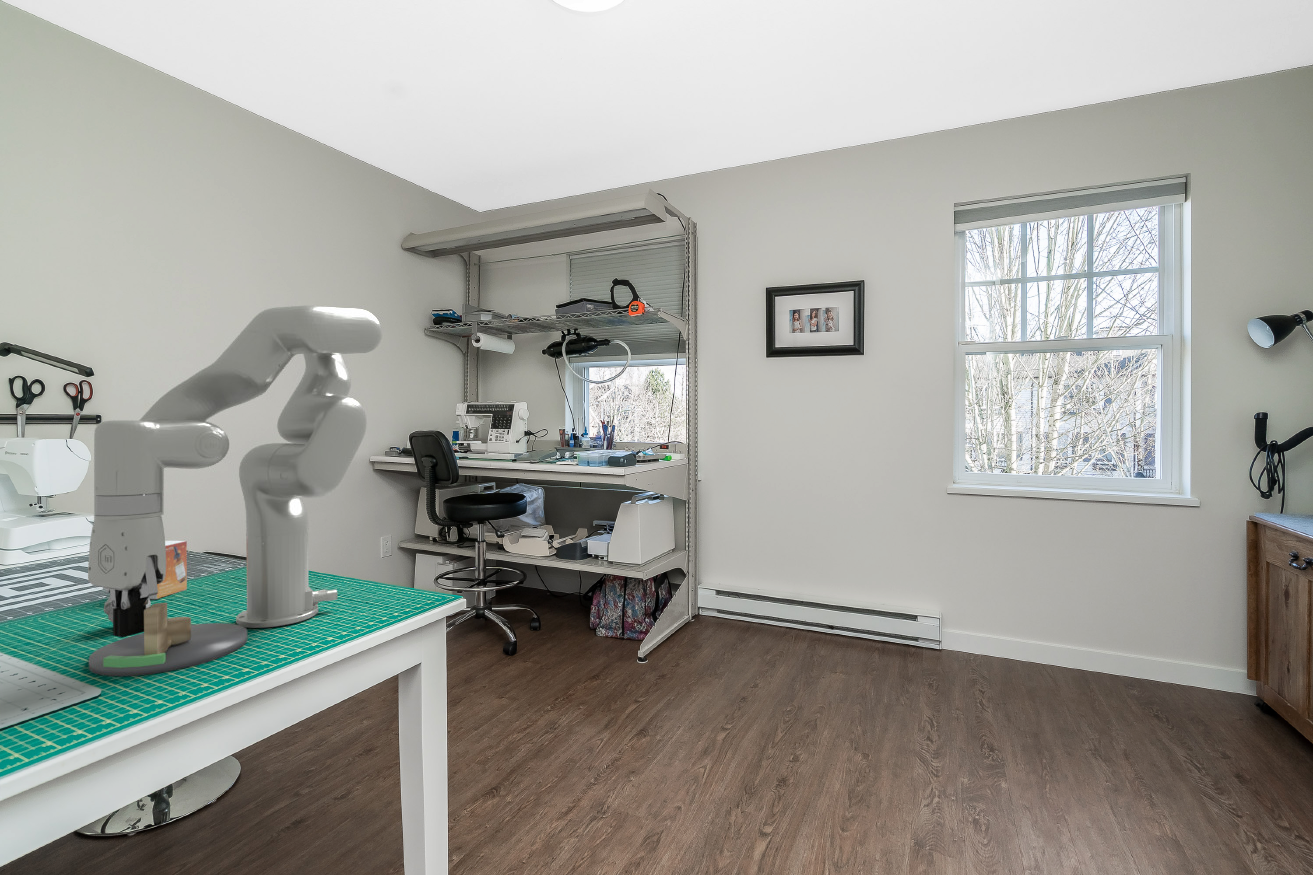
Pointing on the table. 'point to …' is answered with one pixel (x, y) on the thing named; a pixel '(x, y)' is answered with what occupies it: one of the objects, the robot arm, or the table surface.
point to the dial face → (168, 651)
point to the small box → (174, 569)
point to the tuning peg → (163, 629)
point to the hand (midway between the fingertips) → (129, 633)
